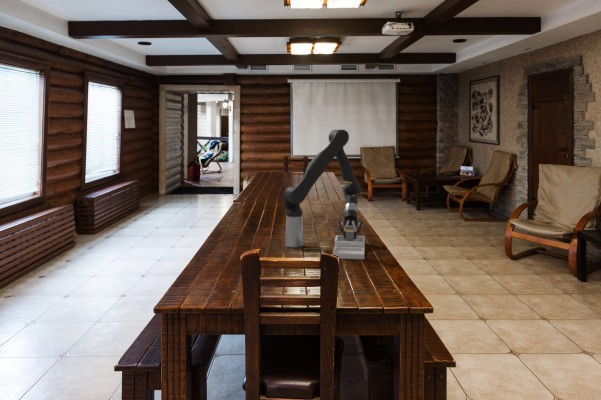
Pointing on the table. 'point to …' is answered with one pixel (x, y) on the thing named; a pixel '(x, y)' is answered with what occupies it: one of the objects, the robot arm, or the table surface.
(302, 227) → the robot arm
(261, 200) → the table surface
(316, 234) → the table surface
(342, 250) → the lid
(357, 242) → the case
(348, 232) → the module
